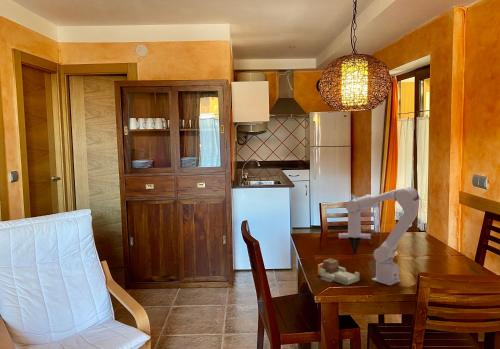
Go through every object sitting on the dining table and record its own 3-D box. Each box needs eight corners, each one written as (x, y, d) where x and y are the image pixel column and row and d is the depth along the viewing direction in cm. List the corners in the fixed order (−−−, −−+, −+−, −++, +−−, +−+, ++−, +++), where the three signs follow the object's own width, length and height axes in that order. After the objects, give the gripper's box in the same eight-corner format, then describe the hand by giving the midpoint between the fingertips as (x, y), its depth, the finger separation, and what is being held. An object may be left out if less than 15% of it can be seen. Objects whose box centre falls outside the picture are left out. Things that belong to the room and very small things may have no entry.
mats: (360, 277, 179) (360, 276, 179) (338, 285, 170) (338, 284, 170) (341, 271, 188) (341, 271, 188) (319, 278, 179) (319, 278, 179)
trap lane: (359, 280, 175) (359, 269, 175) (346, 285, 170) (346, 273, 170) (331, 270, 189) (331, 260, 189) (318, 275, 184) (317, 264, 183)
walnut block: (338, 271, 183) (338, 260, 182) (331, 273, 180) (331, 263, 179) (330, 268, 187) (330, 258, 186) (323, 270, 184) (323, 260, 183)
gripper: (338, 226, 180) (338, 255, 181) (371, 227, 177) (371, 256, 178) (338, 223, 187) (338, 250, 188) (369, 223, 184) (369, 251, 185)
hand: (354, 253), depth 184 cm, fingers closed
